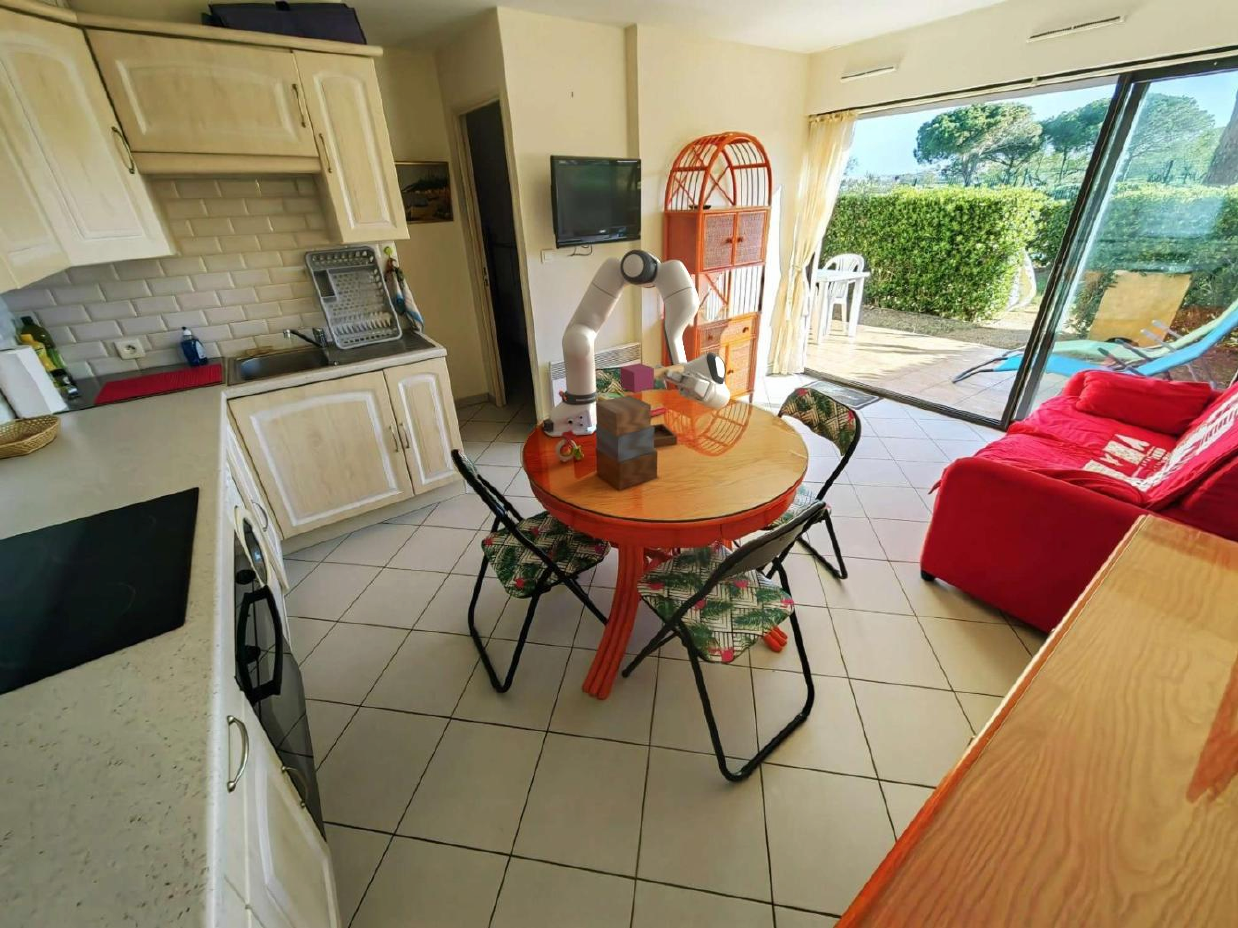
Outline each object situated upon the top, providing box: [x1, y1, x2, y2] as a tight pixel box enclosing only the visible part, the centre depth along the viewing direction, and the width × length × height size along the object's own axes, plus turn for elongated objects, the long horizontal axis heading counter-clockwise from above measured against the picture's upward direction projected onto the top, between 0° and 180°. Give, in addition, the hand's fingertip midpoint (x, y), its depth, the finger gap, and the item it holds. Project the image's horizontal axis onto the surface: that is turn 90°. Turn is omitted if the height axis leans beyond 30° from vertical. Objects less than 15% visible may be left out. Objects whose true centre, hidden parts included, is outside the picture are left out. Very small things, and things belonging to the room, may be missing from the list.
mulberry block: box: [619, 363, 684, 394], centre depth 151 cm, size 20×7×6 cm, turn 124°
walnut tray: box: [651, 423, 678, 448], centre depth 183 cm, size 17×13×3 cm
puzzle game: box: [598, 390, 627, 402], centre depth 213 cm, size 12×5×20 cm
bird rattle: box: [555, 430, 585, 463], centre depth 168 cm, size 6×11×9 cm
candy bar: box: [651, 406, 669, 417], centre depth 204 cm, size 16×4×3 cm, turn 123°
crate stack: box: [595, 394, 658, 491], centre depth 154 cm, size 14×13×24 cm
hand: (662, 370), depth 152 cm, fingers closed on mulberry block, 2 cm apart
